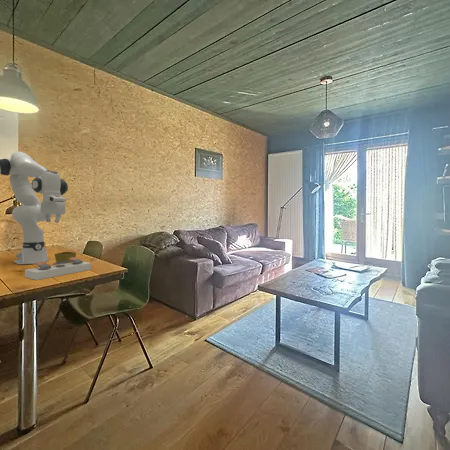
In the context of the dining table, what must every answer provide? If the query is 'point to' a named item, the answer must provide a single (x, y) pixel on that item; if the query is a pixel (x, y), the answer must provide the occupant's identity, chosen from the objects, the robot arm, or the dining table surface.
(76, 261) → the rocker far
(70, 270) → the power strip
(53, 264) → the rocker middle
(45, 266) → the rocker near
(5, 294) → the dining table surface
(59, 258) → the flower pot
